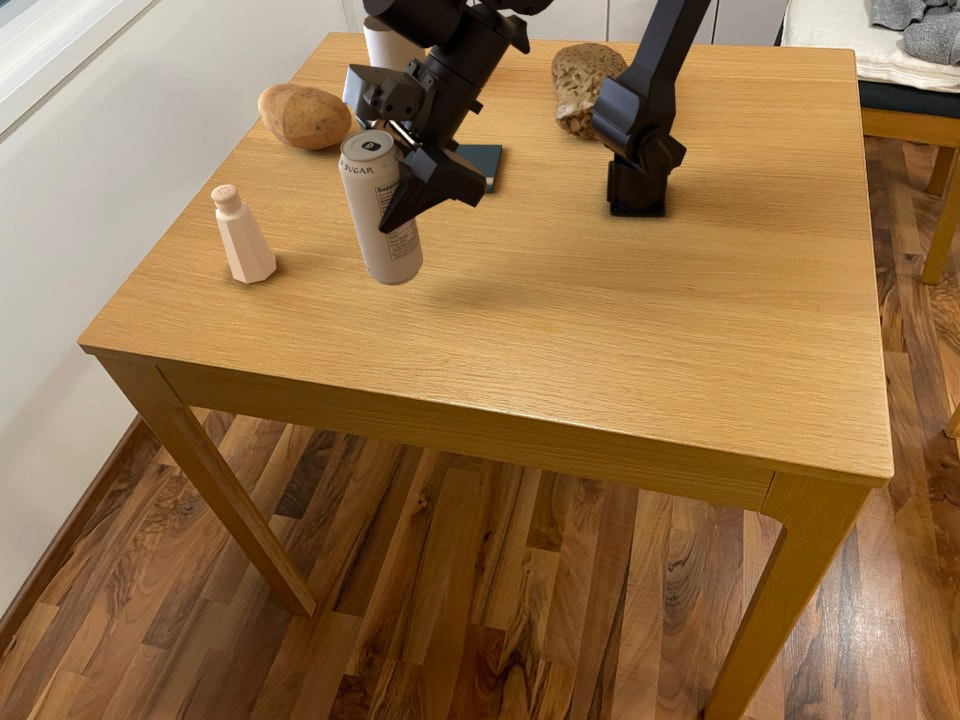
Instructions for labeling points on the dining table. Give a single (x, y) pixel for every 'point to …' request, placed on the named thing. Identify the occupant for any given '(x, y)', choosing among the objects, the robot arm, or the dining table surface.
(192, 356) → the dining table surface
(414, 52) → the cup
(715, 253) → the dining table surface
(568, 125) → the sponge
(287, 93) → the potato
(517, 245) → the dining table surface
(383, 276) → the energy drink can
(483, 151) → the book
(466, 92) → the robot arm
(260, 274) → the pepper shaker
